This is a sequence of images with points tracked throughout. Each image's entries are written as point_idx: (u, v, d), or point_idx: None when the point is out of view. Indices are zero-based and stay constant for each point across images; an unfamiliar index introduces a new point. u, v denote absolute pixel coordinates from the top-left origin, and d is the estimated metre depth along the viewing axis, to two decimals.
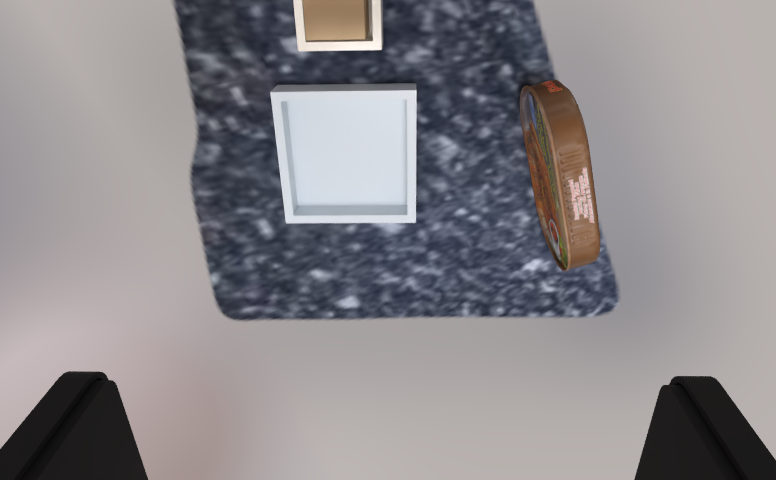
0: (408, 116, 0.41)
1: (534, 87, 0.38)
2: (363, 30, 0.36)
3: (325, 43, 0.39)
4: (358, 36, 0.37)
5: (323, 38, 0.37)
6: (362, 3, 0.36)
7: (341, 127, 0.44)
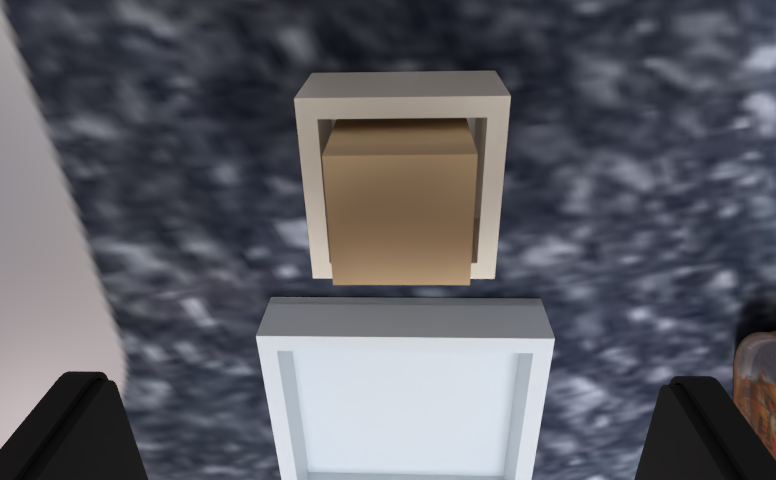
0: (532, 378, 0.21)
1: None
2: (468, 268, 0.16)
3: None
4: (455, 279, 0.16)
5: (373, 282, 0.16)
6: (470, 216, 0.15)
7: (392, 368, 0.23)
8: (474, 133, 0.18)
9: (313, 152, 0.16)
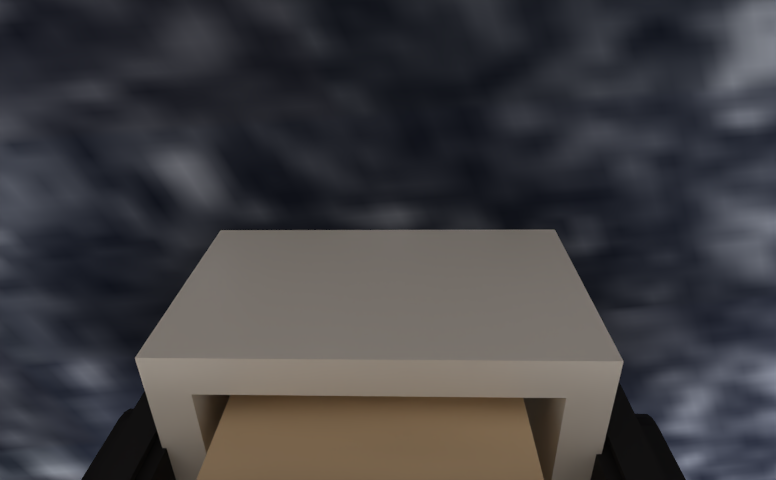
0: None
1: None
2: None
3: None
4: None
5: None
6: None
7: None
8: None
9: (192, 448, 0.08)
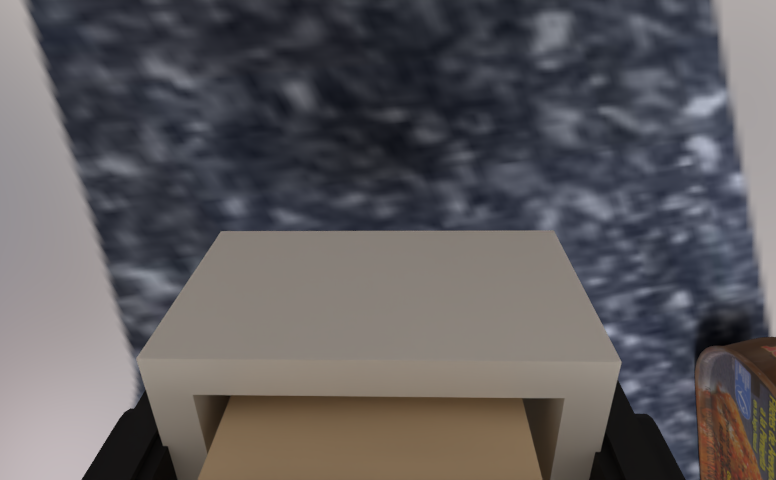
0: None
1: (767, 371, 0.20)
2: None
3: None
4: None
5: None
6: None
7: None
8: None
9: (193, 448, 0.08)
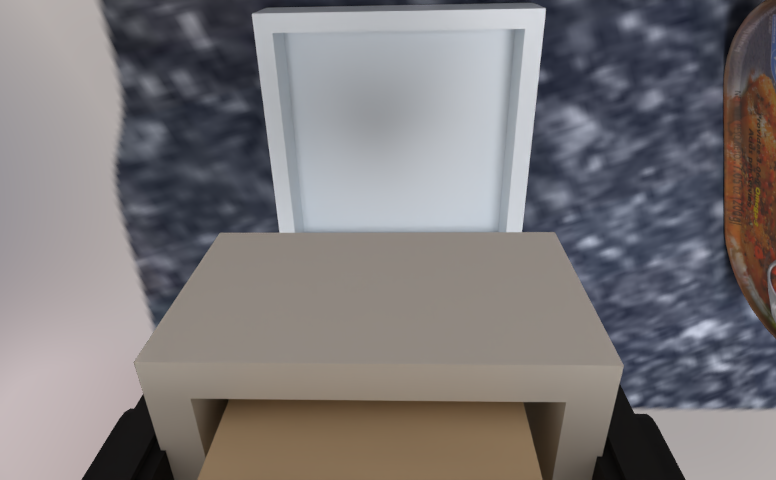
0: (524, 63, 0.21)
1: None
2: None
3: None
4: None
5: None
6: None
7: (386, 89, 0.24)
8: None
9: (191, 452, 0.07)
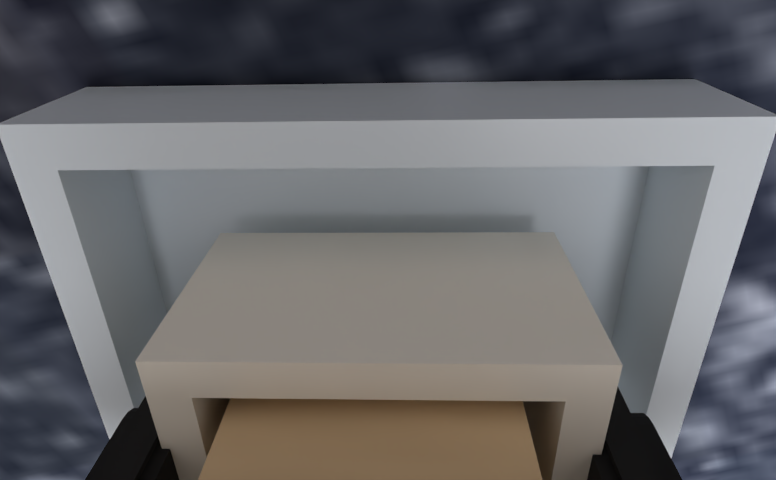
0: (699, 244, 0.08)
1: None
2: None
3: None
4: None
5: None
6: None
7: None
8: None
9: (193, 451, 0.08)
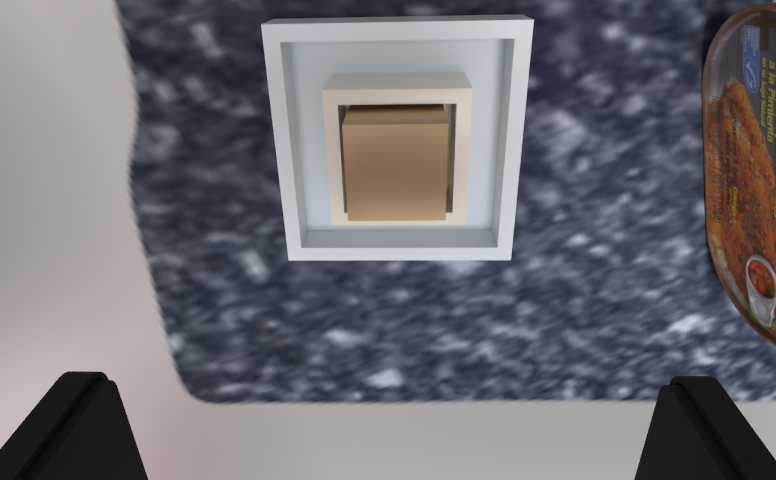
0: (514, 70, 0.23)
1: None
2: (443, 207, 0.22)
3: None
4: (434, 216, 0.22)
5: (376, 218, 0.22)
6: (444, 168, 0.21)
7: None
8: (450, 119, 0.25)
9: (335, 129, 0.22)
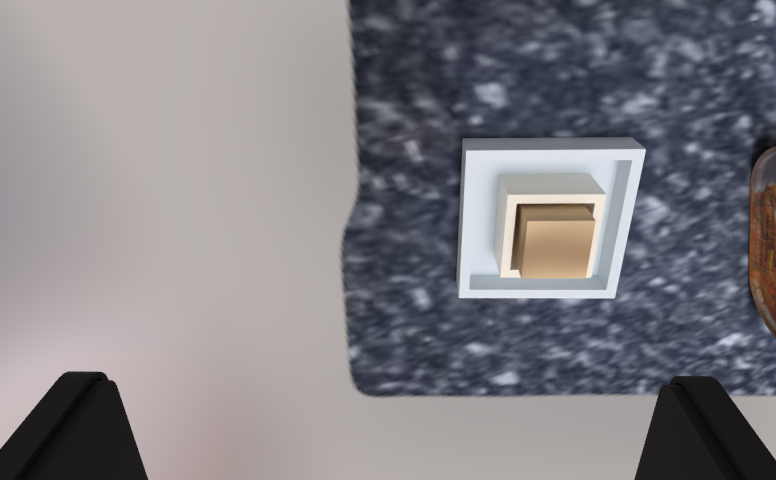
0: (630, 179, 0.34)
1: None
2: (585, 270, 0.34)
3: None
4: (579, 275, 0.34)
5: (540, 277, 0.34)
6: (589, 247, 0.33)
7: None
8: None
9: (512, 218, 0.34)
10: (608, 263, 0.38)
